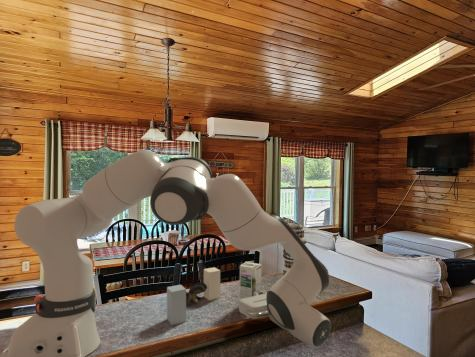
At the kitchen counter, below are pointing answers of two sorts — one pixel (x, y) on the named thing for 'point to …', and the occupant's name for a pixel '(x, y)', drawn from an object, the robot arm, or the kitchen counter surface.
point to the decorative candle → (288, 259)
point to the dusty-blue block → (176, 304)
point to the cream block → (212, 283)
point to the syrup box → (249, 279)
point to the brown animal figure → (195, 292)
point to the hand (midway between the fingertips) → (257, 293)
